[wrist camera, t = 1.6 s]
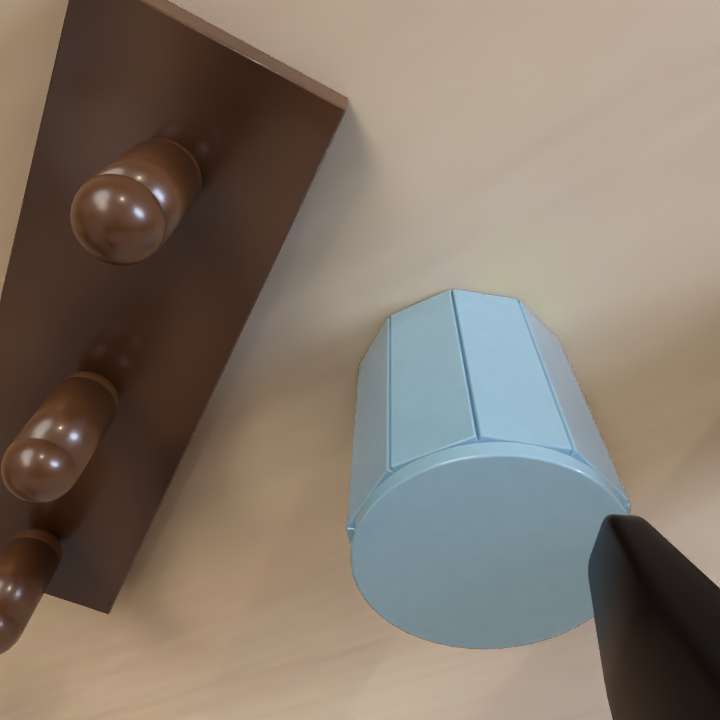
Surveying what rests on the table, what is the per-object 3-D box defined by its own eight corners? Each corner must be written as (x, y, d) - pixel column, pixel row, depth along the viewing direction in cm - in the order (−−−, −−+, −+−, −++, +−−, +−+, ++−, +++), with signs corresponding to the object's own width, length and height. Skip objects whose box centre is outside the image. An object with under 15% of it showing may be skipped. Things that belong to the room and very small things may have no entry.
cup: (605, 342, 22) (703, 520, 15) (488, 483, 25) (524, 680, 18) (426, 253, 20) (443, 404, 13) (328, 415, 24) (302, 601, 17)
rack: (349, 98, 18) (330, 162, 12) (121, 586, 29) (57, 733, 24) (100, -37, 16) (-47, -32, 11) (-39, 531, 28) (-147, 675, 22)
